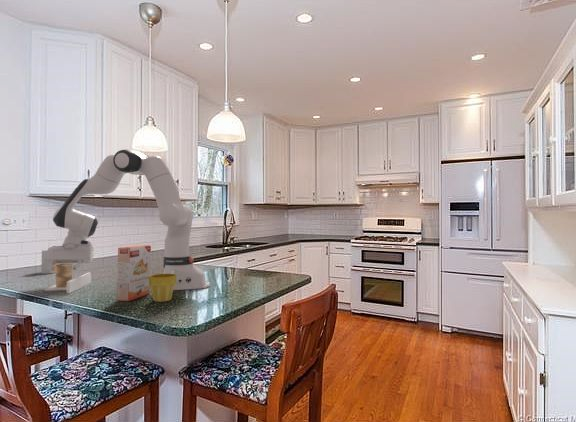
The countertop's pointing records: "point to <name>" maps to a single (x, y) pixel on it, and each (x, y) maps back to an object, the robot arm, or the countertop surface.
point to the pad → (55, 288)
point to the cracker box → (133, 272)
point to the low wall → (78, 282)
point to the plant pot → (162, 286)
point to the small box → (46, 265)
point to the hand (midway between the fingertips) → (63, 269)
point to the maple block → (63, 274)
